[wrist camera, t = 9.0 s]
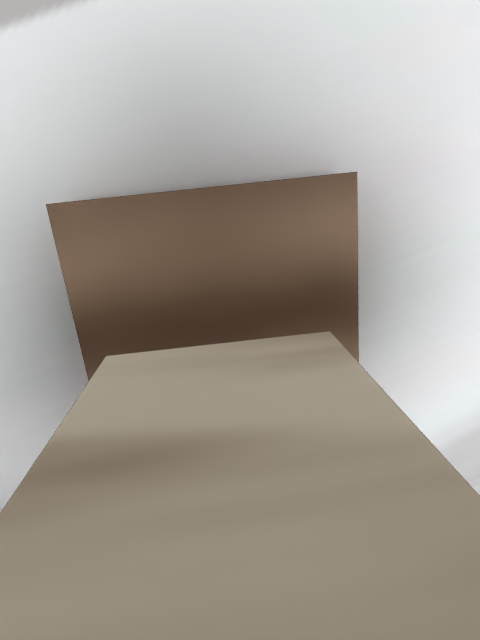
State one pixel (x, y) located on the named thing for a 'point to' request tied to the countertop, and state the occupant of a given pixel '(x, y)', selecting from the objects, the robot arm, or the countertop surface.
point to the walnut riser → (211, 265)
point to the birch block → (240, 507)
